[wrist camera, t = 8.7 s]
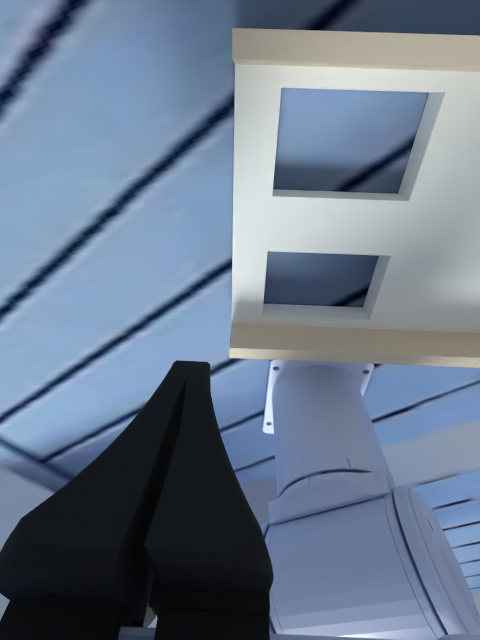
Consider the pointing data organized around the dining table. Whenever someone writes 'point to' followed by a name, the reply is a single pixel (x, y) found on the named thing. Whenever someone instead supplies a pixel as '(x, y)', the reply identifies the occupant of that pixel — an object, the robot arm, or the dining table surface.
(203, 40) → the dining table surface
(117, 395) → the dining table surface
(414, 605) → the robot arm
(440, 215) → the board
